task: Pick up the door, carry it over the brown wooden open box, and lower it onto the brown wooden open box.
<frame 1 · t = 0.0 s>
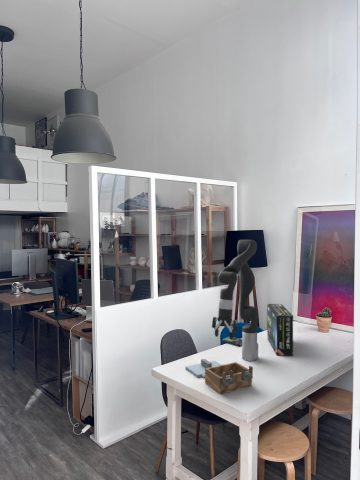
hand: (223, 337, 197), 22 cm above the table, tool pointing down, fingers open, 8 cm apart
brown wooden open box: (228, 384, 190), on the table
router box: (279, 347, 250), on the table
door: (206, 370, 209), on the table
disk drive: (234, 343, 259), on the table
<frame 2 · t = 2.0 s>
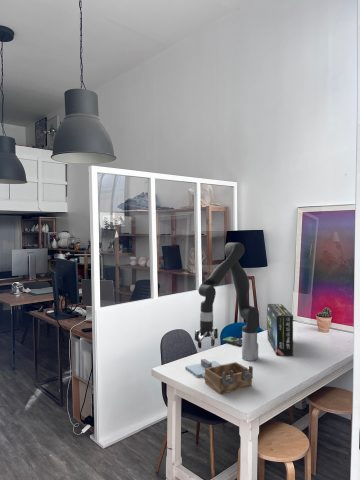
hand: (206, 347, 209), 13 cm above the table, tool pointing down, fingers open, 8 cm apart
nothing on the table moved.
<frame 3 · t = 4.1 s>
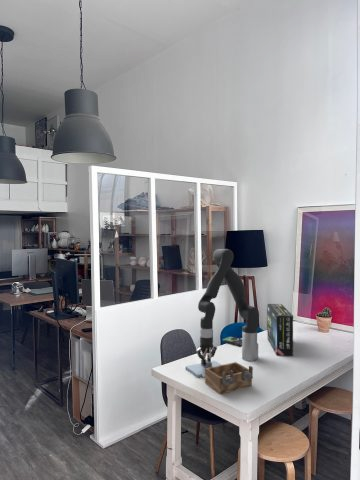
hand: (206, 364, 209), 3 cm above the table, tool pointing down, fingers closed on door, 2 cm apart
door: (206, 370, 209), on the table, touching gripper
everything else where it was.
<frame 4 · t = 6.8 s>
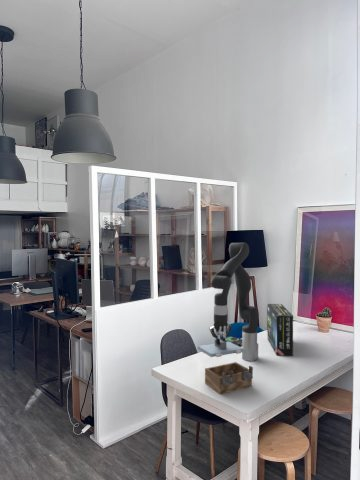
hand: (220, 344, 195), 19 cm above the table, tool pointing down, fingers closed on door, 2 cm apart
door: (220, 350, 195), point 16 cm above the table, touching gripper
everything else where it was.
when the fingers open (12 cm above the table, at t = 9.7 s): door drops 1 cm, resting on brown wooden open box.
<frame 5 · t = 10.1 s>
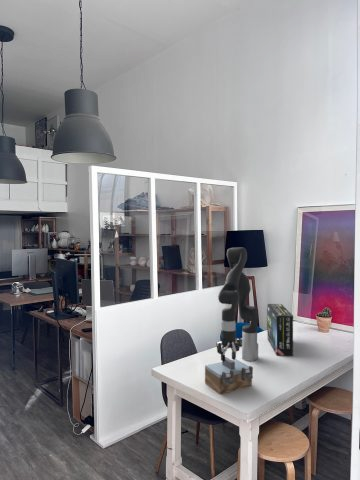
hand: (228, 360, 189), 13 cm above the table, tool pointing down, fingers open, 6 cm apart
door: (228, 369, 190), point 8 cm above the table, touching brown wooden open box
everything else where it was.
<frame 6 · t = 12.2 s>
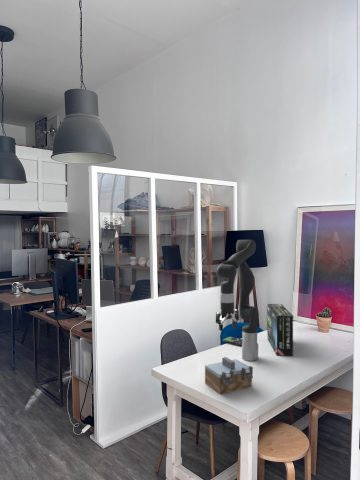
hand: (227, 329, 200), 26 cm above the table, tool pointing down, fingers open, 8 cm apart
nothing on the table moved.
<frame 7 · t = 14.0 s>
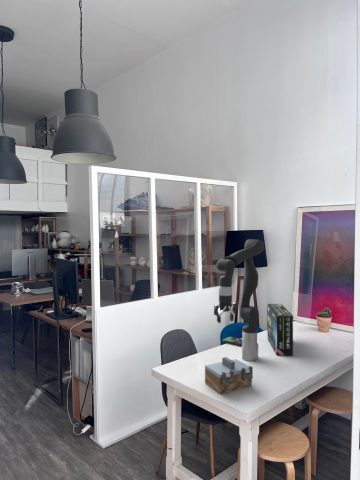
hand: (225, 321, 209), 28 cm above the table, tool pointing down, fingers open, 8 cm apart
nothing on the table moved.
at the end: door 0.1 cm off-centre on the brown wooden open box, point 8.0 cm above the brown wooden open box's base; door tilted 0°; the gripper is holding nothing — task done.
